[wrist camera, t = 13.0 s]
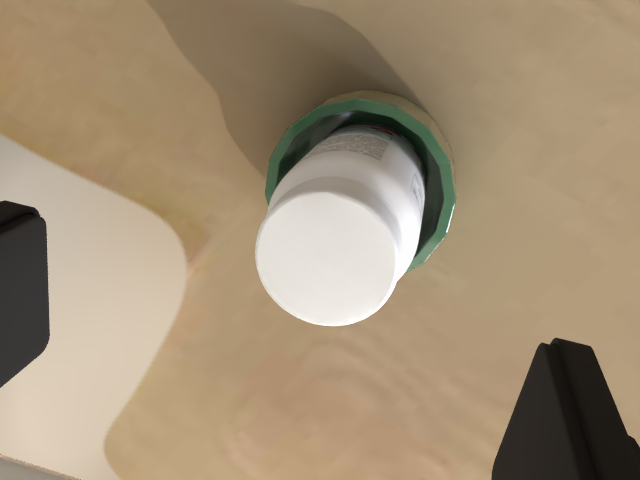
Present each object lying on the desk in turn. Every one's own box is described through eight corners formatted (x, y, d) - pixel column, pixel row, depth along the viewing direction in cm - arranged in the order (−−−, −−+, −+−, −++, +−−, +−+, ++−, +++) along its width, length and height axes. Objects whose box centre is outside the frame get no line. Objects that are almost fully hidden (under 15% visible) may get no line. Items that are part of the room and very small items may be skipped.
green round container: (255, 151, 24) (230, 167, 21) (393, 54, 22) (385, 58, 19) (346, 280, 25) (333, 311, 22) (486, 202, 23) (491, 227, 20)
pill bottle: (285, 184, 24) (206, 262, 16) (360, 94, 22) (310, 133, 14) (372, 258, 24) (335, 369, 16) (452, 176, 22) (453, 258, 15)
